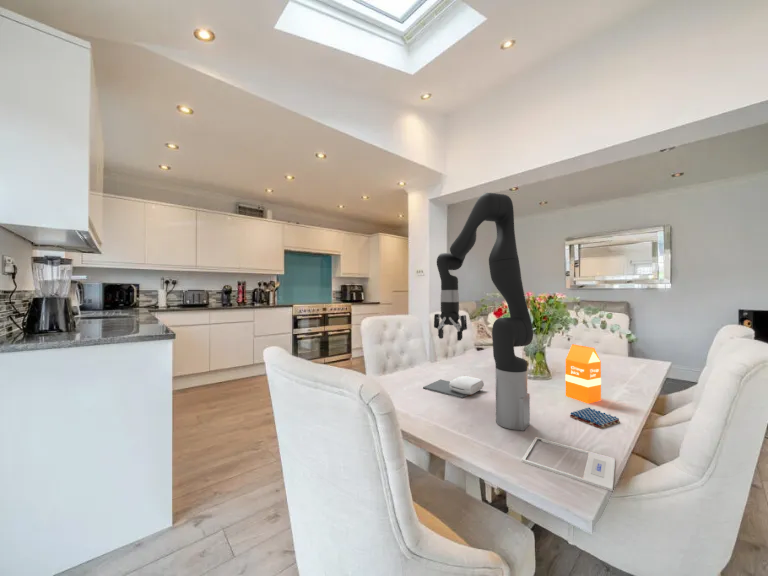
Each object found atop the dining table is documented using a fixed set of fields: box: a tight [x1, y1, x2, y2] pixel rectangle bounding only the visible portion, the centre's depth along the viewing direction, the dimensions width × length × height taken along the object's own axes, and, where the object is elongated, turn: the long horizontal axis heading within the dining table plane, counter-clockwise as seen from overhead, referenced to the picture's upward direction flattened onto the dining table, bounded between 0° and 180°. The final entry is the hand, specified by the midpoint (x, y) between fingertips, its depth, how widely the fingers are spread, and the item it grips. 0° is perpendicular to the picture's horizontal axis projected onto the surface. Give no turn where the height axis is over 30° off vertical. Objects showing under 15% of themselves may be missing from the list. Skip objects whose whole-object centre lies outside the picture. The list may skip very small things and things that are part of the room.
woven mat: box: [569, 407, 621, 430], centre depth 100 cm, size 10×11×2 cm
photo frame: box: [521, 436, 616, 492], centre depth 76 cm, size 15×1×18 cm
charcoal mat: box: [422, 379, 470, 399], centre depth 130 cm, size 18×14×1 cm
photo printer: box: [449, 375, 484, 395], centre depth 127 cm, size 10×4×12 cm
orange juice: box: [564, 344, 602, 404], centre depth 118 cm, size 8×9×20 cm
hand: (450, 339), depth 130 cm, fingers open, 8 cm apart
